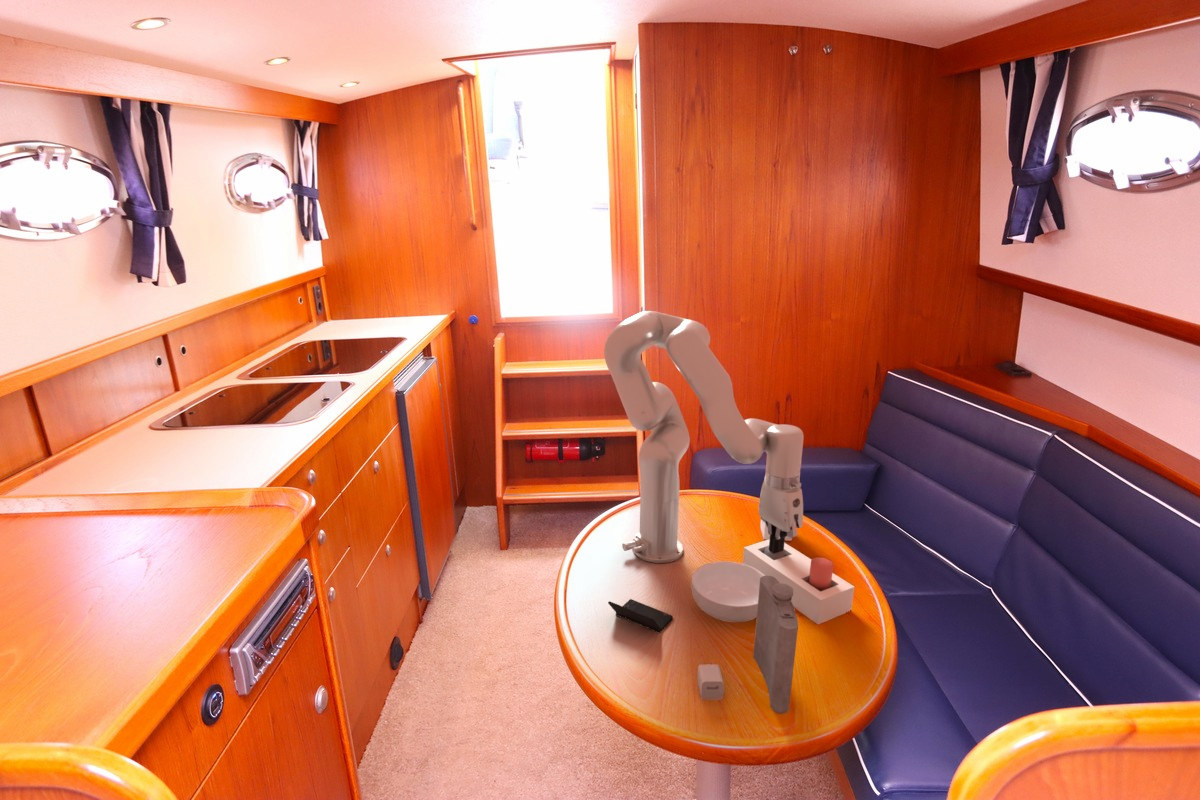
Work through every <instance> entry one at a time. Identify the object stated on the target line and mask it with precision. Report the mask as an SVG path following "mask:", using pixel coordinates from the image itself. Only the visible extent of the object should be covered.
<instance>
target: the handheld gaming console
mask: <svg viewBox="0 0 1200 800" xmlns="http://www.w3.org/2000/svg"><path fill="white" fill-rule="evenodd" d="M607 604H608V605H609V606H610V607H611V609H613V612H615V616H616V617H619V618H621V619H624V620H627V621H629V622H631V623H633V624H637V625H639V626H641V627H643V628H646V629H647V628H648V629H649V630H651V631H652V632H653V631H654V632H655V633H656V634H661V633H662V631H663V630H664V629H665V628H667V627H668V625H669V624H670V623H671V622H672V621H673V618H674V615H672V614H671V613H670V614H669V613H667V612H664V611H663V610H660V609H657V608H654V607H652V606H650V605H647V604H644V603H642V602H639V601H638V600H634V599H632V598H630V599H629V600H628V601H626V602H625V603H624V605H620V604H617V603H615V602H612V601H608V603H607Z"/></svg>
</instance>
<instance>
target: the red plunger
mask: <svg viewBox="0 0 1200 800" xmlns="http://www.w3.org/2000/svg"><path fill="white" fill-rule="evenodd" d="M833 571H834V563H833V561H831V560H830V559H827V558H823V557H814V558H812V559H811V565H810V574H809V583H808V584H810V585H811V586H813V587H814V588H816V589H817V590H819V591H824V590H826V589H829V588H831V580H832V573H834V572H833Z"/></svg>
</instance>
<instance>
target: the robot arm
mask: <svg viewBox="0 0 1200 800" xmlns="http://www.w3.org/2000/svg"><path fill="white" fill-rule="evenodd" d="M710 343H711V335H710V332H709V330H708V328H707V327H706V325H704V324H702V323H701V322H698V321H696V320H694V319H693V320H692V319H689V318H683V317H680V316H677V315H676V316H675V315H671V314H667V313H664V312H663V313H662V312H659V311H654V310H644V311H641V312H638V313H635V314H634V315H632V316H630V317H628V318H626V319H624V320H623V321H621V322H620V323H619V324H618V325H616V326H615V327H614V328H613V329H612V330H611V332H610V333H609V334H608V337H607V338H606V341H605V343H604V349H603V355H604V356H603V357H604V361H605V363H606V367H607V369H608V371H609V374H610V375H611V378H612V381H613V383H614V385H615V389H616V391H617V393H618V396H619V398H620V401H621V404H622V406H623V408H624V411H625V414H626V416H627V418H628V421H629V422H630V425H632V427H634V428H635V429H636V430H638V431H641V432H647V431H650V434H649V435H648V436H647V437H646V438H645V439H644V440H643V442H642V444H641V446H640V448H639V452H638V467H639V477H640V480H639V481H640V489H639V490H640V492H639V493H640V494H639V495H640V497H639V499H640V501H639V532H638V533H636V534H635V538H632V540H631V541H628V542H627V541H626V542H624V543H622V546H621V547H622V549H623V551H624V552H625V551H626V552H627V551H630V550H632V553H633V554H634V555H636V557H638V558H639V559H640V560H643V561H646V562H649V563H655V564H664V563H665V564H666V563H671V562H674V561H676V560H678V559H680V558H681V556H682V555H683V553H684V546H683V544H682V542H681V541H680V540H679V539H678V534H679V533H678V531H679V510H680V509H679V506H680V475H679V464H680V461H681V460H682V458H683V456H684V455H685V453H686V452H687V451H688V449H689V447H690V443H691V442H690V441H691V437H690V433H689V429H688V427H687V424H686V421H685V420H684V417H683V413H682V412H681V409H680V406H679V403H678V401H677V399H676V397H675V395H674V393H673V391H672V390H671V389H670V388H669V387H668V386H667V385H665V384H664V383H661V382H658V381H652V378H651V375H650V372H649V370H648V368H647V366H646V364H645V363H644V361H642V358H641V355H642V354H643V353H644V352H646V351H647V350H649V349H650V348H651V347H656V348H661V349H665V351H666V354H667V355H668V357H669V359H670V361H672V364H674V367H676V369H677V370H678V371H679V373H680V374H681V375H682V376H683V379H684V380H685V382H687V384H688V385H689V386H690V388H691V390H692V391H693V393H694V394H695V396H696V397H697V398H698V400H699V403H700V406H701V408H702V411H703V413H704V415H705V417H706V420H707V423H708V425H709V427H710V429H711V431H712V433H713V434H714V436H715V437H716V439H717V440H718V442H719V443H720V444H721V446H722V447H723V448H724V450H725V451H726V452H727V454H728V455H729V456H730V457H731V458H732V459H733V460H735V461H736V462H737V463H740V464H744V465H750V464H753V463H756V462H757V461H758V460H759V459H760V458H761V457H762V456H763V453H764V452H765V453H766V461H765V462H766V463H765V464H766V465H765V475H764V478H765V480H763V482H762V485H761V488H760V489H761V490H760V496H759V503H758V515H759V516H760V520H761V519H762V520H763V521H764V522H765V523H766V525H767V527H768V534H769V535H770V541H769V551H772V553H777V552H780V551H783V550H784V543H785V542H786V541H785V537H787V536H788V537H791V538H792V539H793V538H795V537H797V536H798V531H797V530H798V529H801V528H802V527H803V522H804V521H803V520H804V517H803V516H804V498H803V490H802V488H801V487H802V483H801V482H800V481H801V480H800V478H801V468H802V457H803V448H804V447H803V446H804V432H803V430H802V429H801V428H800V427H798V426H797V425H796V426H795V425H793V424H784V423H783V424H778V423H777V424H776V423H773V422H769V421H767V420H763V419H760V418H759V419H758V418H753V417H752V418H751V417H750V418H747V419H744V418H743V415H741V412H740V411H739V409H738V407H737V404H736V401H735V397H734V396H735V395H734V387H733V382H732V379H731V376H730V375H729V373H728V372H727V370H726V369H725V368H724V366H723V365H722V364H721V362H720V361H719V360H718V358H717V356H715V354H714V353H713V351H712V349H711V348H710V347H709V346H710ZM782 530H783V531H782Z"/></svg>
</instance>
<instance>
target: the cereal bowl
mask: <svg viewBox="0 0 1200 800" xmlns="http://www.w3.org/2000/svg"><path fill="white" fill-rule="evenodd" d="M762 576H765V575H764V574H762V573H761V572H760V571H758V570H757V569H755V568H753V567H750V566H748V565H745V564H743V563H740V562H735V561H728V560H721V561H719V560H718V561H713V562H708V563H705V564H703V565H701V566H699V567H698V568H696V569H695V571H694V572H693V574H692V577H691V582H690V583H691V592H692V593H691V594H692V596H693V599H694V601H695V603H696V604H697V606H699V608H700V610H702V611H703V612H704V613H706V614H707V615H709V616H711V617H712V618H714V619H717V620H720V621H723V622H729V623H742V622H748V621H752V620H754V619H757V608H758V597H759V585H760V578H761V577H762Z"/></svg>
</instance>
